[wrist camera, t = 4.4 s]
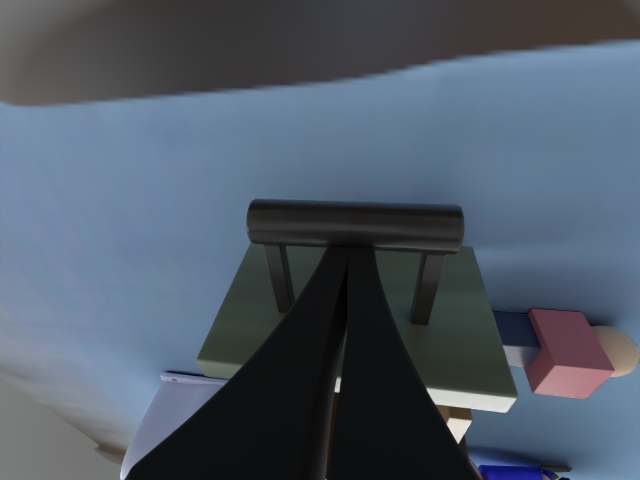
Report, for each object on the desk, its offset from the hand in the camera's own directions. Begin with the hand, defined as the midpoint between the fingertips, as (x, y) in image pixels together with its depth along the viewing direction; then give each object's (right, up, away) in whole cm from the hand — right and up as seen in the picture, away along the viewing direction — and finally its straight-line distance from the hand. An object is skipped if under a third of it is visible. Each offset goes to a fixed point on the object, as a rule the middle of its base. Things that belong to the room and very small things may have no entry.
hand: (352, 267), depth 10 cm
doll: (+12, -4, +9) cm, 15 cm away
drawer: (+1, -2, +8) cm, 8 cm away
